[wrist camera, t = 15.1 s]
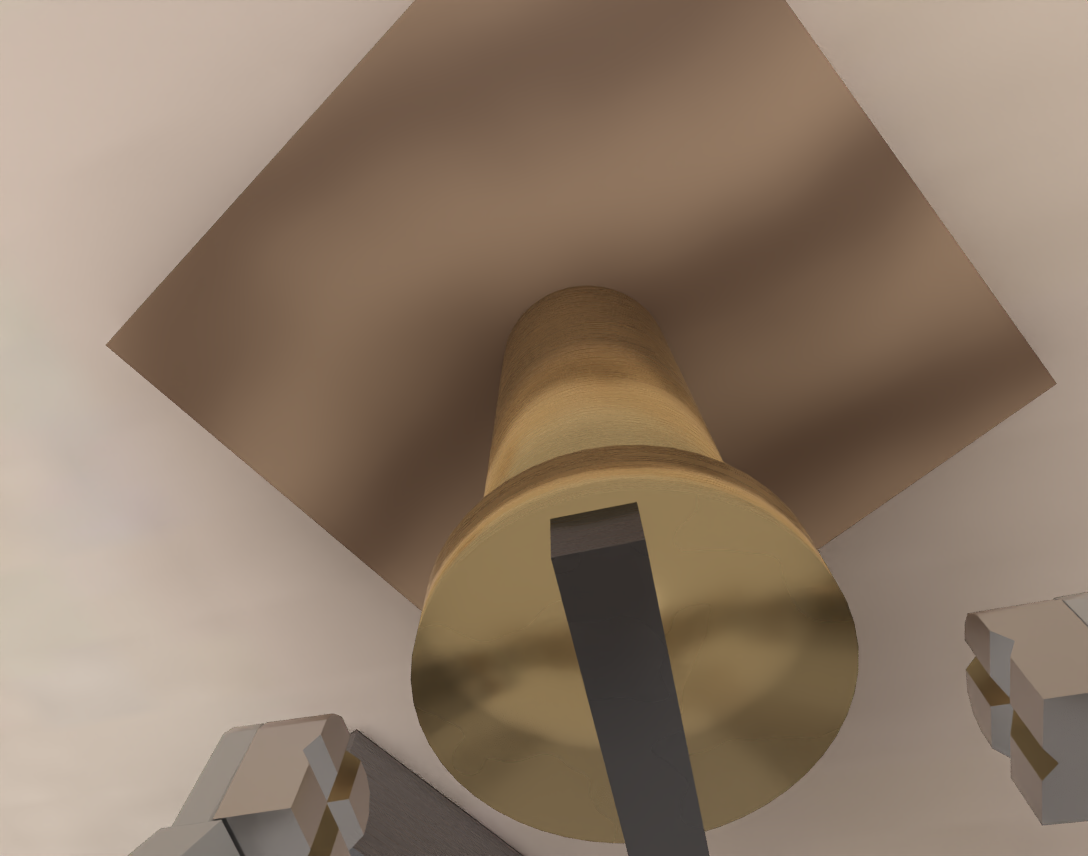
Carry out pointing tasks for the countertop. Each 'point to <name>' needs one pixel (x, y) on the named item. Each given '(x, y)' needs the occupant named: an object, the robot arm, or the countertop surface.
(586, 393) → the brass peg
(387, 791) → the metal socket
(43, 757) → the countertop surface
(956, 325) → the walnut board
